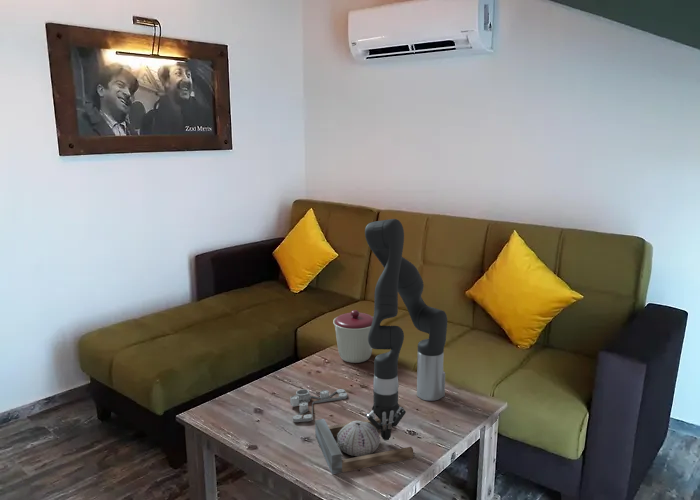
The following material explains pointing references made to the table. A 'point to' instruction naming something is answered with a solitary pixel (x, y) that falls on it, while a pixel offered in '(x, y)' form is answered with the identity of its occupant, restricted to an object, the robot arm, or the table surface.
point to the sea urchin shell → (358, 438)
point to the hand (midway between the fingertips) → (385, 438)
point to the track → (338, 465)
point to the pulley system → (304, 397)
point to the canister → (353, 336)
